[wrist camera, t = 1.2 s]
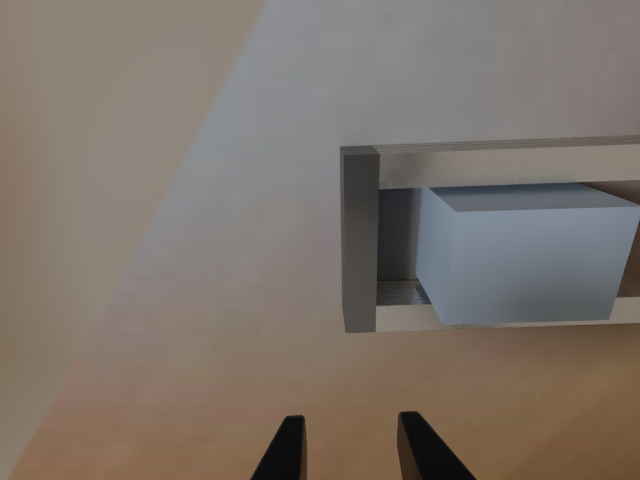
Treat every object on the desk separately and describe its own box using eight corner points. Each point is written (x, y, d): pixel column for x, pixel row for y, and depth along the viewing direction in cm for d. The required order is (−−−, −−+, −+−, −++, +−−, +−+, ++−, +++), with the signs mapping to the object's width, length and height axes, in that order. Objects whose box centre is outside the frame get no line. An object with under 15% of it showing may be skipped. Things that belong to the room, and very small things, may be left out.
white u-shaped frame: (667, 134, 18) (720, 141, 15) (618, 296, 21) (656, 322, 19) (339, 146, 18) (343, 155, 15) (342, 306, 21) (345, 332, 19)
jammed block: (562, 177, 19) (643, 206, 14) (542, 267, 20) (608, 319, 16) (421, 181, 19) (455, 211, 14) (414, 271, 20) (443, 324, 16)
